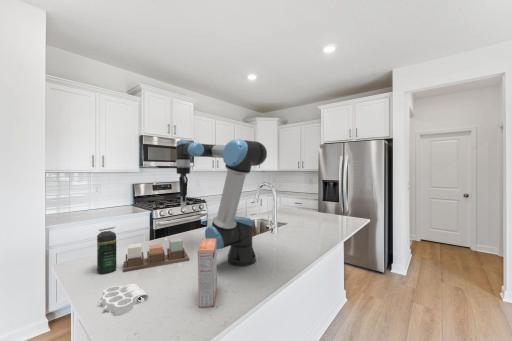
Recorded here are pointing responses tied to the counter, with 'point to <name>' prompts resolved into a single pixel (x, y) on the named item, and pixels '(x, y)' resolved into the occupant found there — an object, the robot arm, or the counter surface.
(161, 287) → the counter surface
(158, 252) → the terracotta key
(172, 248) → the sage key
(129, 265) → the board
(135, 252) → the cream key
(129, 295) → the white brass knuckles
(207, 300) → the cracker box
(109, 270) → the coffee jar
